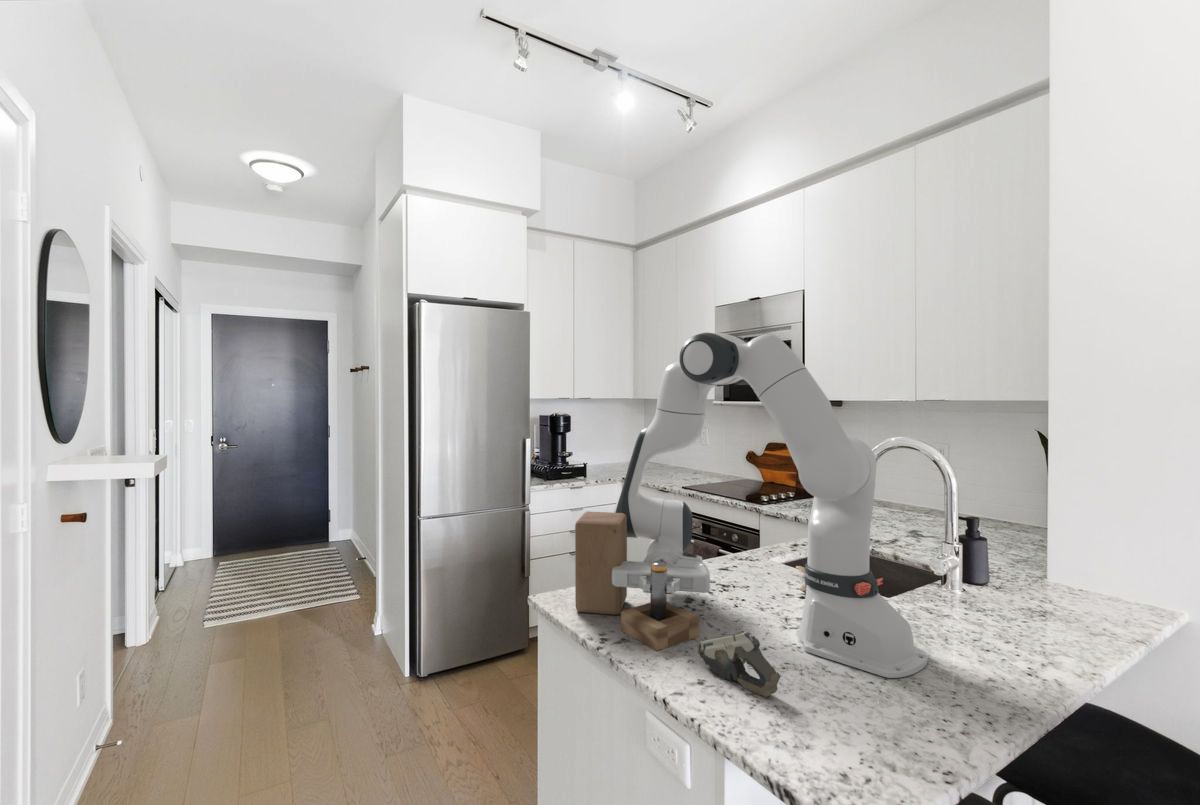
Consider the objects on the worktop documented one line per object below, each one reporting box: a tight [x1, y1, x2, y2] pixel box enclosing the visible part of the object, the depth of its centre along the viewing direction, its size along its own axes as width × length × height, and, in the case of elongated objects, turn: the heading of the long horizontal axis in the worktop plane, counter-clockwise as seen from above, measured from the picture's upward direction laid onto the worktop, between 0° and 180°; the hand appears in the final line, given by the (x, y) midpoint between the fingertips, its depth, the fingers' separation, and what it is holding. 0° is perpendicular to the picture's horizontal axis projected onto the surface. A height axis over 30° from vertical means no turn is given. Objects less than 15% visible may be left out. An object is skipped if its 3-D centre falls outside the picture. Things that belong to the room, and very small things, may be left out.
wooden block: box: [574, 511, 628, 616], centre depth 127 cm, size 10×10×20 cm
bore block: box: [620, 601, 700, 651], centre depth 114 cm, size 11×11×4 cm
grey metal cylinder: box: [649, 561, 668, 621], centre depth 114 cm, size 3×3×11 cm
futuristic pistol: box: [697, 630, 781, 697], centre depth 96 cm, size 2×15×10 cm, turn 39°
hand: (658, 589), depth 113 cm, fingers closed on grey metal cylinder, 3 cm apart
